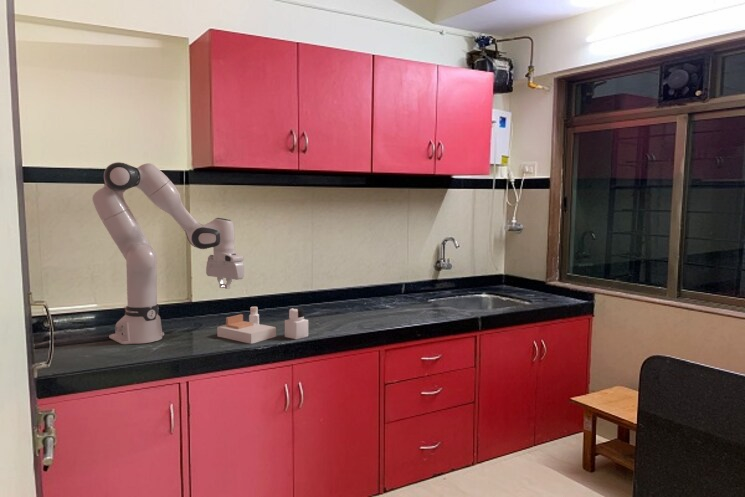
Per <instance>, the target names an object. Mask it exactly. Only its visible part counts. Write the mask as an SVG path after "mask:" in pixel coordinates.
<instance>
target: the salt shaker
mask: <svg viewBox="0 0 745 497" xmlns="http://www.w3.org/2000/svg"><path fill="white" fill-rule="evenodd" d="M249 308H250V314H249V315H248V322H251V323H256V324H260V314H259V313H258V306H251V307H249Z"/></svg>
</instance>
